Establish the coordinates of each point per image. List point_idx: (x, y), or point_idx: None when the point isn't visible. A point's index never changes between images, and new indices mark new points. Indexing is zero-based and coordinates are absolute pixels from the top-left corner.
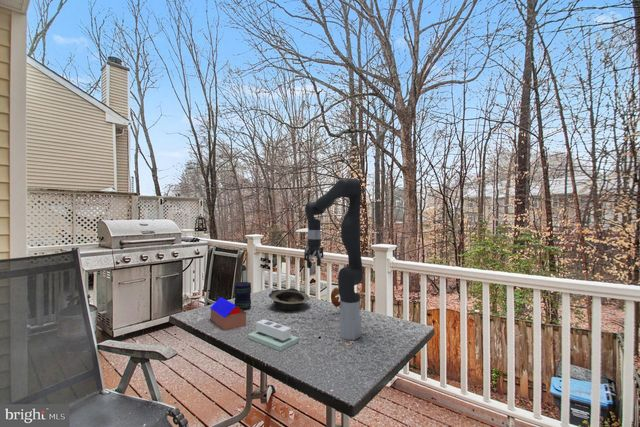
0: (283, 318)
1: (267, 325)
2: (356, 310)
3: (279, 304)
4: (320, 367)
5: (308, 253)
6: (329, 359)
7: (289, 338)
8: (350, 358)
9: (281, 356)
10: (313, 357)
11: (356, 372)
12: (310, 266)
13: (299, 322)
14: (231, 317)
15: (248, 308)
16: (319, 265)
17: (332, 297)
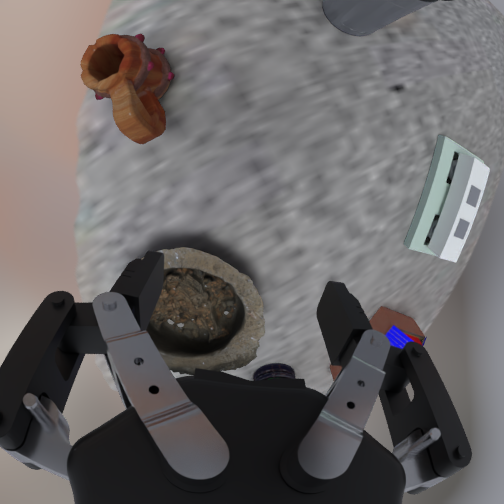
0: (304, 256)
1: (471, 224)
2: None
3: (242, 317)
4: (490, 68)
5: (448, 417)
6: (468, 52)
7: (451, 158)
8: (447, 13)
9: (488, 148)
10: (475, 84)
11: (474, 11)
12: (344, 290)
13: (318, 192)
14: (415, 332)
15: (277, 366)
16: (161, 258)
17: (156, 128)
